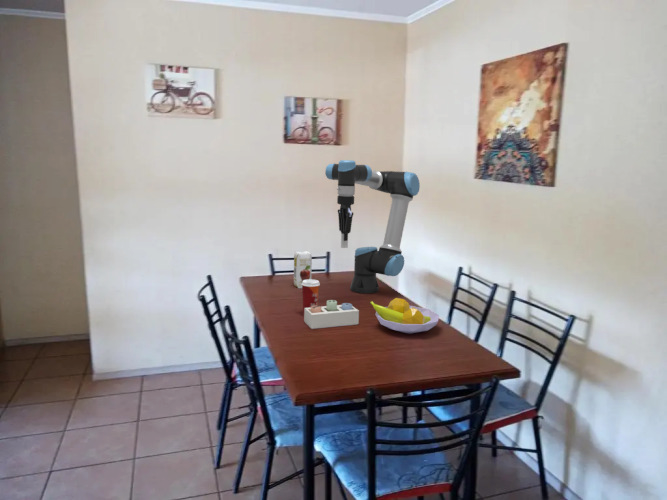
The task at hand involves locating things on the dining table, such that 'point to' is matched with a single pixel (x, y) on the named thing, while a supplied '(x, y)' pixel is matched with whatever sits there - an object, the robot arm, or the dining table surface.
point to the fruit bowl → (405, 316)
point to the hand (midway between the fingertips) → (344, 247)
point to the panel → (331, 317)
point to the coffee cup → (310, 292)
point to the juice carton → (302, 267)
